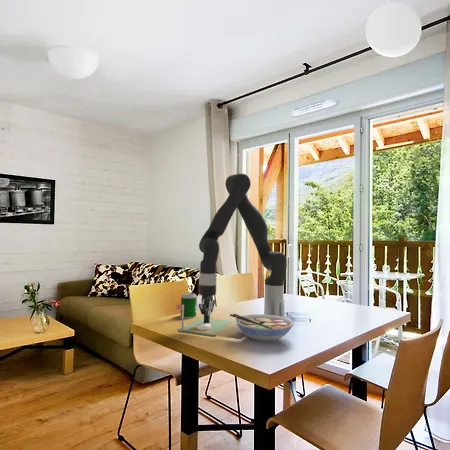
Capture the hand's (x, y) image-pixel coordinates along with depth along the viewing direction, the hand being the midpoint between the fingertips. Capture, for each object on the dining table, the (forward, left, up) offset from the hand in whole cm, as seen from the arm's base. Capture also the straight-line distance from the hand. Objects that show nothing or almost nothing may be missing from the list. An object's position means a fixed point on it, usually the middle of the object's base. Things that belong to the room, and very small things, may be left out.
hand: (206, 323), depth 152 cm
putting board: (0, -1, -2) cm, 2 cm away
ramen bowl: (-27, +5, -2) cm, 28 cm away
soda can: (+15, -12, -2) cm, 19 cm away
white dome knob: (0, +4, -2) cm, 5 cm away
